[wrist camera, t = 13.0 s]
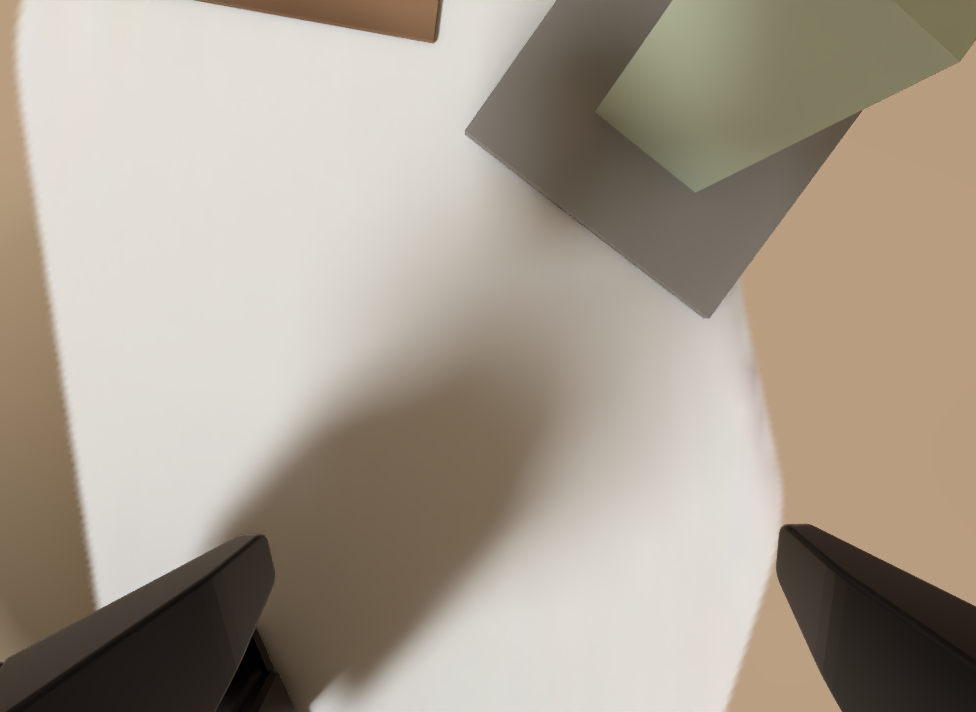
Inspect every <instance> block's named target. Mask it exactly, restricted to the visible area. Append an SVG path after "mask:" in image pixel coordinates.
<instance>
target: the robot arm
mask: <svg viewBox="0 0 976 712" xmlns="http://www.w3.org/2000/svg"><path fill="white" fill-rule="evenodd" d="M776 572H777V577H778V580H779V583H780V585H781V587H782V590H783V592H784V594H785V596H786V598H787V600H788V603H789V605H790V607H791V609H792V612H793V614H794V616H795V618H796V620H797V623H798V625H799V627H800V629H801V631H802V634H803V636H804V638H805V640H806V643H807V645H808V647H809V649H810V652H811V654H812V656H813V658H814V660H815V662H816V665H817V666H818V669H819V671H820V673H821V675H822V677H823V679H824V680H825V682H826V684H827V686H828V688H829V690H830V691H831V693H832V695H833V697H834V698H835V700H836V702H837V704H838V706H839V707H840V709H841V711H842V712H976V606H974V605H972V604H970V603H967V602H966V601H964V600H961V599H960V598H958V597H956V596H953V595H952V594H950V593H948V592H946V591H944V590H942V589H939V588H938V587H936V586H934V585H931V584H929V583H927V582H925V581H923V580H921V579H919V578H917V577H915V576H913V575H911V574H909V573H907V572H905V571H903V570H901V569H899V568H897V567H895V566H893V565H891V564H889V563H887V562H885V561H883V560H881V559H879V558H877V557H875V556H873V555H871V554H869V553H867V552H865V551H863V550H861V549H859V548H857V547H855V546H853V545H851V544H849V543H847V542H844V541H843V540H841V539H839V538H837V537H835V536H833V535H831V534H829V533H827V532H825V531H823V530H821V529H819V528H817V527H815V526H813V525H810V524H785V525H783V526H782V527H781V529H780V532H779V540H778V550H777V561H776ZM274 580H275V570H274V566H273V561H272V557H271V553H270V549H269V544H268V541H267V538H266V537H265V536H264V535H262V534H242V535H239V536H237V537H235V538H233V539H231V540H230V541H228V542H226V543H224V544H222V545H220V546H218V547H216V548H214V549H213V550H211V551H209V552H207V553H205V554H203V555H201V556H199V557H197V558H196V559H194V560H192V561H190V562H188V563H186V564H184V565H182V566H180V567H179V568H177V569H175V570H173V571H171V572H169V573H167V574H165V575H163V576H162V577H160V578H158V579H156V580H154V581H152V582H150V583H148V584H146V585H145V586H143V587H141V588H139V589H137V590H135V591H133V592H131V593H129V594H127V595H126V596H124V597H122V598H120V599H118V600H116V601H114V602H112V603H110V604H109V605H107V606H105V607H103V608H101V609H99V610H97V611H95V612H93V613H92V614H90V615H88V616H86V617H84V618H82V619H80V620H78V621H76V622H75V623H73V624H71V625H69V626H67V627H65V628H63V629H62V630H60V631H58V632H56V633H54V634H52V635H50V636H48V637H46V638H44V639H42V640H41V641H39V642H37V643H35V644H33V645H31V646H30V647H27V648H25V649H24V650H22V651H20V652H18V653H16V654H14V655H12V656H10V657H8V658H7V659H6V660H5V662H0V712H295V710H294V708H293V705H292V703H291V701H290V698H289V696H288V694H287V691H286V689H285V687H284V685H283V682H282V680H281V678H280V675H279V673H278V672H276V671H275V670H274V668H273V666H272V663H271V661H270V659H269V656H268V654H267V652H266V649H265V647H264V645H263V642H262V640H261V638H260V635H259V633H258V631H257V630H256V628H255V627H256V625H257V623H258V620H259V618H260V616H261V613H262V611H263V608H264V606H265V604H266V601H267V599H268V597H269V594H270V592H271V590H272V587H273V584H274Z"/></svg>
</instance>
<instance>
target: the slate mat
mask: <svg viewBox="0 0 976 712" xmlns="http://www.w3.org/2000/svg"><path fill="white" fill-rule="evenodd" d="M671 2H672V0H557V1H556V2H555V3H554V5H553V6H552V8H551V9H550V10H549V12H548V13H547V15H546V16H545V18H544V19H543V20H542V22H541V23H540V25H539V26H538V28H537V29H536V30H535V32H534V33H533V35H532V36H531V37H530V39H529V40H528V42H527V43H526V45H525V46H524V47H523V49H522V50H521V52H520V53H519V55H518V56H517V57H516V59H515V60H514V62H513V63H512V64H511V66H510V67H509V69H508V70H507V72H506V73H505V74H504V76H503V77H502V79H501V80H500V82H499V83H498V84H497V86H496V87H495V89H494V90H493V91H492V93H491V94H490V96H489V97H488V99H487V100H486V101H485V103H484V104H483V106H482V107H481V109H480V110H479V111H478V113H477V114H476V116H475V117H474V118H473V120H472V121H471V123H470V124H469V126H468V127H467V128H466V130H465V135H467V136H468V137H469V138H470V139H472V140H473V141H474V142H476V143H477V144H478V145H480V146H481V147H482V148H483V149H485V150H486V151H487V152H489V153H490V154H491V155H493V156H494V157H495V158H496V159H498V160H499V161H500V162H502V163H503V164H504V165H506V166H507V167H508V168H509V169H511V170H512V171H513V172H515V173H516V174H517V175H519V176H520V177H521V178H522V179H524V180H525V181H526V182H528V183H529V184H530V185H532V186H533V187H534V188H535V189H537V190H538V191H539V192H541V193H542V194H543V195H545V196H546V197H547V198H548V199H550V200H551V201H552V202H554V203H555V204H556V205H558V206H559V207H560V208H561V209H563V210H564V211H565V212H567V213H568V214H569V215H571V216H572V217H573V218H574V219H576V220H577V221H578V222H580V223H581V224H582V225H584V226H585V227H586V228H587V229H589V230H590V231H591V232H593V233H594V234H595V235H597V236H598V237H599V238H600V239H602V240H603V241H604V242H606V243H607V244H608V245H610V246H611V247H612V248H613V249H615V250H616V251H617V252H619V253H620V254H621V255H623V256H624V257H625V258H626V259H628V260H629V261H630V262H632V263H633V264H634V265H636V266H637V267H638V268H639V269H641V270H642V271H643V272H645V273H646V274H647V275H649V276H650V277H651V278H652V279H654V280H655V281H656V282H658V283H659V284H660V285H662V286H663V287H664V288H665V289H667V290H668V291H669V292H671V293H672V294H673V295H675V296H676V297H677V298H678V299H680V300H681V301H682V302H684V303H685V304H686V305H688V306H689V307H690V308H691V309H693V310H694V311H695V312H697V313H698V314H699V315H701V316H702V317H703V318H710V317H711V315H712V314H713V313H714V311H715V310H716V308H717V307H718V306H719V304H720V303H721V302H722V300H723V299H724V298H725V296H726V295H727V294H728V292H729V291H730V289H731V288H732V287H733V285H734V284H735V283H736V281H737V280H738V279H739V277H740V276H741V275H742V273H743V272H744V270H745V269H746V268H747V266H748V265H749V264H750V262H751V261H752V260H753V258H754V257H755V255H756V254H757V253H758V251H759V250H760V249H761V247H762V246H763V245H764V243H765V242H766V241H767V239H768V238H769V236H770V235H771V234H772V232H773V231H774V230H775V228H776V227H777V225H778V224H779V223H780V222H781V220H782V219H783V217H784V216H785V215H786V213H787V212H788V210H789V209H790V208H791V207H792V205H793V204H794V203H795V201H796V200H797V198H798V197H799V196H800V194H801V193H802V192H803V190H804V189H805V188H806V186H807V185H808V184H809V182H810V181H811V179H812V178H813V177H814V175H815V174H816V173H817V171H818V170H819V169H820V167H821V166H822V164H823V163H824V162H825V160H826V159H827V158H828V156H829V155H830V153H831V152H832V151H833V149H834V148H835V147H836V145H837V144H838V143H839V141H840V140H841V139H842V137H843V136H844V134H845V133H846V132H847V131H848V129H849V128H850V126H851V125H852V124H853V122H854V121H855V120H856V118H857V117H858V116H859V114H860V113H861V112H862V110H861V111H859V112H857V113H855V114H853V115H851V116H849V117H847V118H845V119H843V120H841V121H839V122H837V123H835V124H833V125H831V126H829V127H827V128H825V129H823V130H821V131H819V132H817V133H815V134H813V135H811V136H809V137H807V138H805V139H803V140H801V141H799V142H797V143H795V144H793V145H791V146H789V147H787V148H785V149H783V150H781V151H779V152H777V153H775V154H773V155H770V156H768V157H766V158H764V159H762V160H760V161H758V162H756V163H754V164H752V165H750V166H748V167H746V168H744V169H742V170H740V171H738V172H736V173H734V174H732V175H730V176H728V177H726V178H724V179H722V180H720V181H718V182H716V183H714V184H712V185H710V186H708V187H706V188H704V189H702V190H700V191H698V192H696V193H695V192H694V191H693V190H691V189H690V188H689V187H688V186H686V185H685V184H684V183H683V182H681V181H680V180H679V179H678V178H676V177H675V176H674V175H673V174H671V173H670V172H669V171H668V170H666V169H665V168H664V167H663V166H661V165H660V164H659V163H658V162H656V161H655V160H654V159H653V158H651V157H650V156H649V155H648V154H646V153H645V152H644V151H643V150H641V149H640V148H639V147H638V146H636V145H635V144H634V143H633V142H631V141H630V140H629V139H628V138H626V137H625V136H624V135H623V134H621V133H620V132H619V131H618V130H616V129H615V128H614V127H613V126H611V125H610V124H609V123H608V122H607V121H605V120H604V119H603V118H602V117H600V116H599V115H598V114H597V113H595V111H596V109H597V108H598V107H599V105H600V104H601V102H602V101H603V99H604V98H605V97H606V95H607V94H608V92H609V91H610V89H611V88H612V86H613V85H614V84H615V82H616V81H617V79H618V78H619V76H620V75H621V74H622V72H623V71H624V69H625V68H626V66H627V65H628V64H629V62H630V61H631V59H632V58H633V56H634V55H635V53H636V52H637V51H638V49H639V48H640V46H641V45H642V43H643V42H644V41H645V39H646V38H647V36H648V35H649V33H650V32H651V31H652V29H653V28H654V26H655V25H656V23H657V22H658V21H659V19H660V18H661V16H662V15H663V13H664V12H665V10H666V9H667V8H668V6H669V5H670V3H671Z"/></svg>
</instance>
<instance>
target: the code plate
mask: <svg viewBox="0 0 976 712" xmlns="http://www.w3.org/2000/svg"><path fill="white" fill-rule="evenodd" d="M196 1H201V2H207V3H213V4H218V5H224V6H229V7H235V8H240V9H246V10H251V11H257V12H263V13H268V14H274V15H279V16H285V17H290V18H296V19H301V20H307V21H313V22H318V23H324V24H329V25H335V26H340V27H346V28H351V29H357V30H362V31H368V32H374V33H379V34H385V35H390V36H396V37H401V38H407V39H412V40H418V41H424V42H429V43H434V36H435V28H436V20H437V11H438V3H439V0H196Z"/></svg>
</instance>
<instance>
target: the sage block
mask: <svg viewBox="0 0 976 712" xmlns="http://www.w3.org/2000/svg"><path fill="white" fill-rule="evenodd" d="M975 40H976V0H672V2H671V3H670V5H669V6H668V8H667V9H666V10H665V12H664V13H663V15H662V16H661V18H660V19H659V21H658V22H657V23H656V25H655V26H654V28H653V29H652V31H651V32H650V33H649V35H648V36H647V38H646V39H645V41H644V42H643V43H642V45H641V46H640V48H639V49H638V51H637V52H636V53H635V55H634V56H633V58H632V59H631V61H630V62H629V64H628V65H627V66H626V68H625V69H624V71H623V72H622V74H621V75H620V76H619V78H618V79H617V81H616V82H615V84H614V85H613V86H612V88H611V89H610V91H609V92H608V94H607V95H606V97H605V98H604V99H603V101H602V102H601V104H600V105H599V107H598V108H597V109H596V111H595V113H597V114H598V115H599V116H600V117H602V118H603V119H604V120H605V121H607V122H608V123H609V124H610V125H611V126H613V127H614V128H615V129H616V130H618V131H619V132H620V133H621V134H623V135H624V136H625V137H626V138H628V139H629V140H630V141H631V142H633V143H634V144H635V145H636V146H638V147H639V148H640V149H641V150H643V151H644V152H645V153H646V154H648V155H649V156H650V157H651V158H653V159H654V160H655V161H656V162H658V163H659V164H660V165H661V166H663V167H664V168H665V169H666V170H668V171H669V172H670V173H671V174H673V175H674V176H675V177H676V178H678V179H679V180H680V181H681V182H683V183H684V184H685V185H686V186H688V187H689V188H690V189H691V190H693V191H694V192H695V193H696V192H698V191H700V190H702V189H704V188H706V187H708V186H710V185H712V184H714V183H716V182H718V181H720V180H722V179H724V178H726V177H728V176H730V175H732V174H734V173H736V172H738V171H740V170H742V169H744V168H746V167H748V166H750V165H752V164H754V163H756V162H758V161H760V160H762V159H764V158H766V157H768V156H770V155H773V154H775V153H777V152H779V151H781V150H783V149H785V148H787V147H789V146H791V145H793V144H795V143H797V142H799V141H801V140H803V139H805V138H807V137H809V136H811V135H813V134H815V133H817V132H819V131H821V130H823V129H825V128H827V127H829V126H831V125H833V124H835V123H837V122H839V121H841V120H843V119H845V118H847V117H849V116H851V115H853V114H855V113H857V112H859V111H861V110H863V109H865V108H867V107H869V106H871V105H873V104H875V103H877V102H879V101H881V100H883V99H885V98H887V97H889V96H891V95H893V94H895V93H897V92H899V91H901V90H903V89H905V88H907V87H909V86H911V85H913V84H915V83H918V82H919V81H921V80H923V79H926V78H928V77H929V76H932V75H933V74H936V73H938V72H940V71H941V70H944V69H946V68H948V67H950V66H952V65H954V64H956V63H958V62H960V61H961V59H962V58H963V57H964V55H965V54H966V52H967V51H968V50H969V48H970V47H971V46H972V44H973V43H974V42H975Z"/></svg>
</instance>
